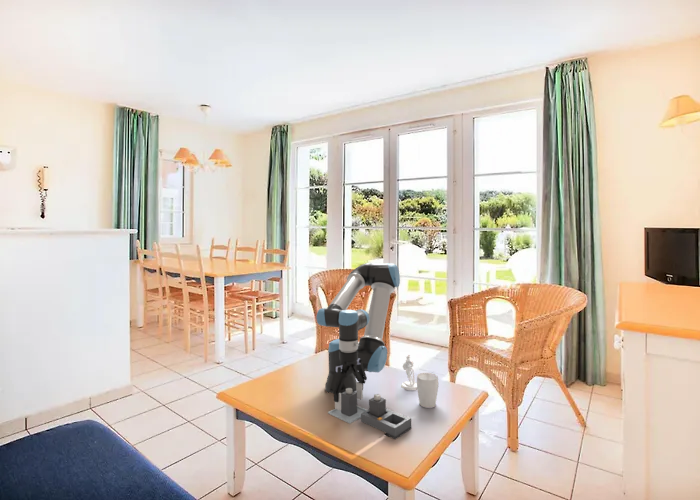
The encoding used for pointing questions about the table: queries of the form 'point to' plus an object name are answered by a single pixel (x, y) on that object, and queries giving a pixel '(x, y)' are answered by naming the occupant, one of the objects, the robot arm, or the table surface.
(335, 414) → the tray
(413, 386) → the figurine
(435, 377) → the cup
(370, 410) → the gray block holder
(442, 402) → the table surface
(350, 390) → the plug
